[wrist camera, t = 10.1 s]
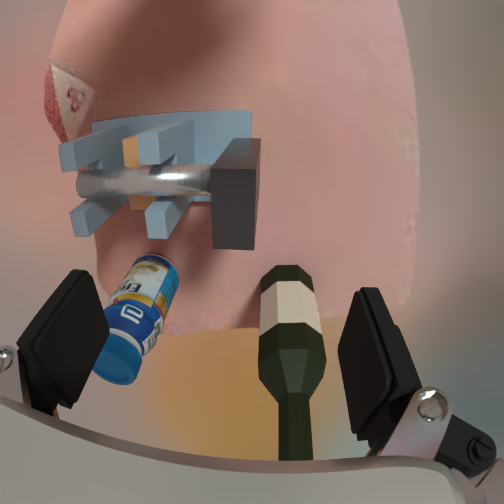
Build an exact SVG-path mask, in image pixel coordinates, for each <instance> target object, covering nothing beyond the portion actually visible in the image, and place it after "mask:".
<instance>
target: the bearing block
mask: <svg viewBox="0 0 504 504" xmlns="http://www.w3.org/2000/svg"><path fill="white" fill-rule="evenodd" d="M91 129H92V133H91V134H88V135H85V136H82V137H79V138H77V139H74V140H71V141H68V142H65V143H63V144H60V145H58V147H59V155H60V162H61V169H62V172H66V171H75V170H78V169H80V168H82V167H84V166H86V165H88V170H92V169H104V168H116V167H125V164H124V154H123V142H122V140H123V139H126V138H128V137H131V136H134V135H136V134H137V145H138V157H139V165H155V164H159V165H179V164H214V163H215V162H216V160H217V159H218V158H219V156H220V155H221V154H222V152H223V151H224V150H225V149H226V147H227V146H228V145H229V143H230V142H231V141H232V140H233V138H251V110H215V111H188V112H172V113H159V114H149V115H139V116H131V117H123V118H116V119H109V120H102V121H96V122H92V123H91ZM192 201H206V202H211V196H158V197H157V199H156V200H155V201H154V202H153V203H152V204H151V205H150V206H149V207H148V208H147V209H146V210H145V211H144V213H145V220H146V227H147V234H148V238H152V239H168V237H169V236H170V234H171V233H172V231H173V229H174V228H175V226H176V225H177V223H178V222H179V220H180V218H181V217H182V215H183V214H184V212H185V211H186V209H187V208H188V206H189V205H190V203H191V202H192ZM126 202H129V198H128V196H127V197H97V198H88V199H87V200H85V201H84V202H83V203H81V204H80V205H79V206H77V207H76V208H75V209H73V210H72V211H71V212H70V217H71V221H72V226H73V230H74V234H75V236H81V237H82V236H84V237H89V236H90V235H92V234H93V233H94V232H95V231H96V230H97V229H98V228H99V227H100V226H101V225H102V224H103V223H104V222H105V221H106V220H107V219H108V218H109V217H111V216H112V215H113V214H114V213H115V212H116V211H117V210H118V209H119V208H120V207H122V206H123V205H124V204H125V203H126Z"/></svg>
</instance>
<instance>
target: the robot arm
mask: <svg viewBox="0 0 504 504" xmlns="http://www.w3.org/2000/svg"><path fill="white" fill-rule="evenodd" d="M109 333H110V328H109V325H108V322H107V319H106V316H105V314H104V311H103V308H102V305H101V302H100V299H99V296H98V293H97V290H96V287H95V284H94V280H93V277H92V276H91V275H90V274H89V273H88V271H85V270H77V269H74V270H72V271H71V272H70V273H69V274H68V276H67V277H66V278H65V279H64V280H63V281H62V283H61V284H60V285H59V286H58V288H57V289H56V290H55V291H54V293H53V294H52V295H51V296H50V298H49V299H48V300H47V301H46V303H45V304H44V305H43V306H42V308H41V309H40V310H39V312H38V313H37V314H36V316H35V317H34V318H33V320H32V321H31V322H30V324H29V325H28V327H27V328H26V330H25V331H24V332H23V334H22V335H21V337H20V338H19V339H18V341H17V342H16V344H17V345H18V347H19V349H18V351H17V350H16V349H15V348H14V347H12V346H7V345H6V346H1V347H0V504H504V460H503V459H502V457H500V458H498V459H497V458H496V446H495V443H494V441H493V440H492V438H491V437H490V436H488V435H487V434H485V433H484V432H482V431H480V430H479V429H477V428H475V427H473V426H471V425H470V424H468V423H466V422H465V421H463V420H461V419H460V418H458V417H456V416H454V415H453V414H452V410H453V408H452V403H451V401H450V398H449V397H448V396H447V395H446V393H445V392H443V391H442V390H440V389H438V388H435V387H424V388H422V385H421V382H420V379H419V377H418V374H417V371H416V369H415V366H414V364H413V361H412V358H411V356H410V353H409V351H408V348H407V346H406V343H405V341H404V338H403V336H402V333H401V331H400V329H399V327H398V326H397V325H394V323H393V320H392V318H391V316H390V314H389V311H388V309H387V306H386V304H385V302H384V300H383V297H382V295H381V293H380V291H379V289H378V288H375V287H362V288H361V289H360V291H356V292H355V293H354V296H353V300H352V303H351V307H350V310H349V313H348V316H347V320H346V323H345V326H344V330H343V332H342V335H341V338H340V341H339V345H338V358H339V363H340V368H341V373H342V378H343V384H344V389H345V395H346V401H347V407H348V412H349V419H350V424H351V431H352V433H354V434H357V440H358V441H362V440H368V444H369V447H370V450H369V451H368V452H367V454H366V455H365V457H357V458H344V459H333V460H332V459H331V460H308V461H264V460H244V459H229V458H220V457H211V456H203V455H195V454H188V453H182V452H176V451H171V450H165V449H160V448H155V447H151V446H146V445H142V444H137V443H133V442H129V441H125V440H122V439H118V438H114V437H111V436H107V435H103V434H101V433H97V432H94V431H91V430H88V429H85V428H82V427H79V426H76V425H74V424H71V423H68V422H65V421H63V420H60V419H59V416H58V412H57V408H56V407H57V404H58V403H59V404H60V405H61V406H63V407H66V408H69V409H71V408H72V406H73V404H74V403H76V402H77V401H78V399H79V397H80V394H81V392H82V390H83V387H84V386H85V383H86V381H87V379H88V377H89V375H90V373H91V371H92V369H93V367H94V365H95V363H96V360H97V358H98V356H99V354H100V352H101V350H102V348H103V346H104V344H105V342H106V341H107V339H108V337H109Z"/></svg>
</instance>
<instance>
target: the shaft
mask: <svg viewBox="0 0 504 504" xmlns="http://www.w3.org/2000/svg"><path fill="white" fill-rule="evenodd" d="M260 148H261V139H260V138H233V140H232V141H231V142H230V143H229V145H228V146H227V147H226V149H225V150H224V151H223V152H222V154H221V155H220V156H219V158H218V159H217V160H216V162H215V163H214V164H179V165H150V166H131V167H116V168H104V169H92V170H83V171H81V172H80V173H79V174H78V177H77V181H76V189H77V192H78V194H79V196H80V197H82V198H97V197H127V196H211V208H212V233H213V249H234V250H254V246H255V234H256V222H257V210H258V198H259V182H260Z"/></svg>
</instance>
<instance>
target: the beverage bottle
mask: <svg viewBox="0 0 504 504" xmlns="http://www.w3.org/2000/svg"><path fill="white" fill-rule="evenodd" d="M178 285H179V275H178V272H177V270H176V268H175V267H174V265H173V264H172V263H171V262H170V261H169V260H167V259H166V258H164V257H162V256H159V255H156V254H146V255H143V256H141V257H139V258H138V259H137V260H136V261H135V262H134V264H133V265H132V267H131V269H130V270H129V272H128V273H127V275H126V276H125V278H124V279H123V281H122V282H121V284H120V285H119V287H118V288H117V290H116V291H115V293H114V294H113V295H112V296H111V297H110V298H109V300H108V302H107V305H106V308H105V309H104V310H103V311H104V314H105V316H106V319H107V322H108V325H109V328H110V333H109V337H108V339H107V341H106V342H105V344H104V346H103V348H102V350H101V352H100V354H99V356H98V358H97V360H96V363H95V365H94V367H93V369H92V370H93V371H94V372H95V373H96V374H97V375H99V376H100V377H101V378H103V379H105V380H107V381H109V382H111V383H114V384H119V385H128V384H131V383H132V382H134V380H135V379H136V377H137V375H138V372H139V369H140V366H141V364H142V356H144V355H145V354H147V353H148V352H149V351H150V350H151V349H152V348H153V347H154V345H155V343H156V340H157V336H158V335H159V334H160V332H161V330H162V328H163V325H164V320H165V317H166V314H167V312H168V309H169V307H170V304H171V302H172V299H173V297H174V294H175V292H176V290H177V287H178Z"/></svg>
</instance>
